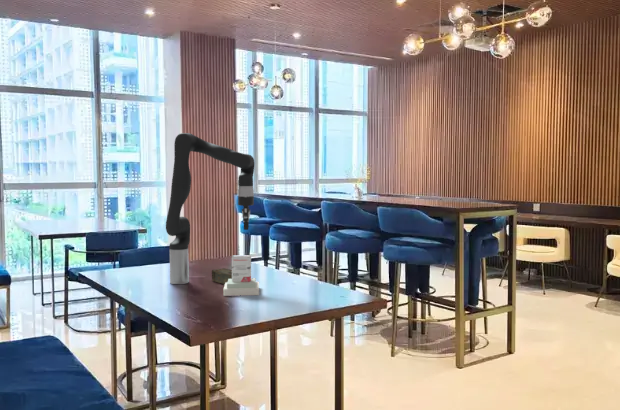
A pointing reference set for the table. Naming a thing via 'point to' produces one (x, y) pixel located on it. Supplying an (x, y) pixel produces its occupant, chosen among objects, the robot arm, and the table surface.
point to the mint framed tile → (241, 288)
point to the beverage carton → (221, 275)
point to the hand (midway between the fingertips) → (246, 228)
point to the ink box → (241, 268)
